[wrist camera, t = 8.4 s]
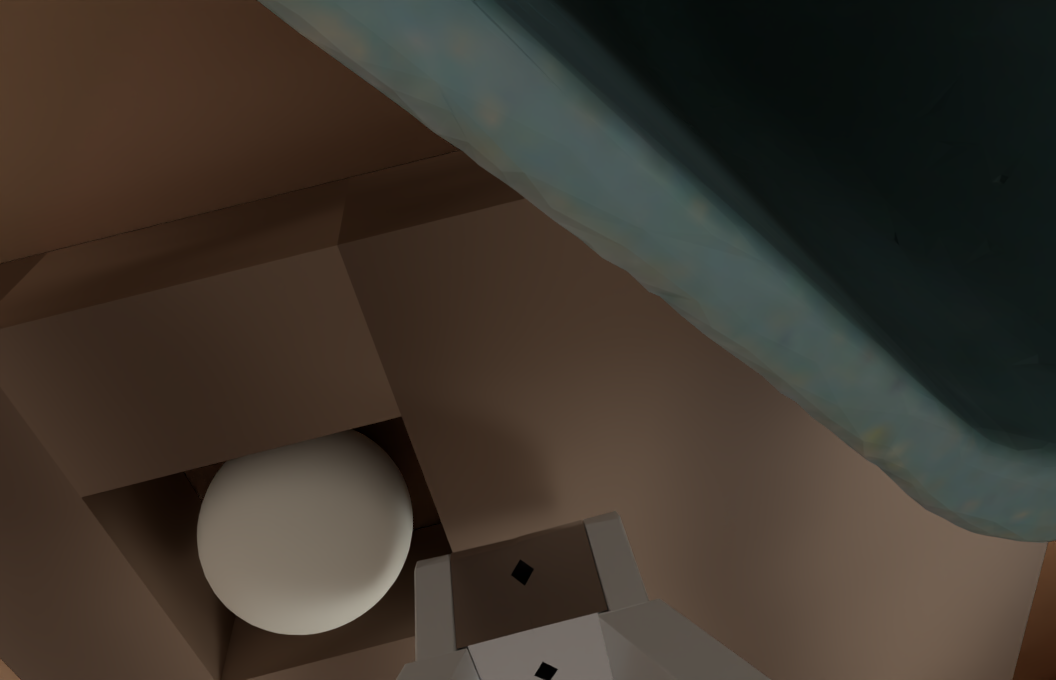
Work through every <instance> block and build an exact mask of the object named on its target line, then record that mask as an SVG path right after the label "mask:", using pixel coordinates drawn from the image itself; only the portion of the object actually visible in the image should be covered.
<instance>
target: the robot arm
mask: <svg viewBox="0 0 1056 680" xmlns="http://www.w3.org/2000/svg"><path fill="white" fill-rule="evenodd" d="M414 589H415V661H414V662H411V663H407V664H405V665H404V667H403V669H402V670H401V672H400V674H399V675H398V677H397V679H396V680H771V679H769V678H768V677H767V676H765V675H764V674H763V673H761V672H760V671H759V670H757V669H756V668H754V667H753V666H752V665H750V664H749V663H748V662H746V661H745V660H743V659H742V658H741V657H739V656H738V655H737V654H735V653H734V652H732V651H731V650H730V649H728V648H727V647H726V646H724V645H723V644H721V643H720V642H719V641H717V640H716V639H715V638H713V637H712V636H710V635H709V634H708V633H706V632H705V631H704V630H702V629H701V628H699V627H698V626H697V625H695V624H694V623H693V622H691V621H690V620H689V619H687V618H686V617H684V616H683V615H682V614H680V613H679V612H678V611H676V610H675V609H673V608H672V607H671V606H669V605H668V604H667V603H665V602H664V601H662V600H661V599H656V600H651V601H649V598H648V595H647V592H646V590H645V587H644V584H643V581H642V578H641V575H640V572H639V569H638V567H637V564H636V561H635V558H634V555H633V552H632V549H631V546H630V544H629V541H628V538H627V535H626V532H625V529H624V526H623V524H622V521H621V518H620V515H619V514H618V513H617V512H616V511H613V512H610V513H606V514H602V515H598V516H595V517H591V518H587V519H583V521H582V520H579V521H575V522H571V523H568V524H564V525H560V526H556V527H553V528H549V529H545V530H541V531H538V532H534V533H530V534H526V535H523V536H519V537H517V538H514V539H510V540H505V541H501V542H497V543H492V544H488V545H484V546H479V547H475V548H470V549H466V550H462V551H457V552H453V553H451V554H447V555H443V556H438V557H434V558H430V559H425V560H421V561H417V563H416V567H415V571H414Z"/></svg>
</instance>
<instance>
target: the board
mask: <svg viewBox="0 0 1056 680" xmlns="http://www.w3.org/2000/svg"><path fill="white" fill-rule="evenodd" d="M401 416H402V419H403V422H404V424H405V427H406V430H407V432H408V435H409V438H410V440H411V443H412V446H413V448H414V451H415V454H416V456H417V459H418V461H419V464H420V467H421V469H422V472H423V475H424V477H425V480H426V483H427V485H428V488H429V491H430V493H431V496H432V499H433V501H434V504H435V507H436V509H437V512H438V515H439V517H440V520H441V524H437V525H433V526H430V527H426V528H422V529H418V530H414V531H413V532H412V537H411V543H410V548H409V552H408V555H407V558H406V560H405V563H404V565H403V567H402V569H401V571H400V574H399V575H398V577H397V579H396V580H395V582H394V583H393V585H392V586H391V587H390V588H389V590H388V591H387V592H386V594H385V595H384V596H383V597H382V598H381V599H380V600H379V601H378V602H377V603H376V604H375V605H374V606H373V607H372V608H371V609H369V610H368V611H367V612H365V613H364V614H363V615H361V616H359V617H358V618H356V619H355V620H353V621H351V622H349V623H347V624H345V625H343V626H340V627H338V628H335V629H332V630H329V631H326V632H321V633H316V634H308V635H287V634H278V633H274V632H270V631H267V630H264V629H261V628H258V627H256V626H253V625H251V624H250V623H248V622H246V621H244V620H243V619H241V618H240V617H238V616H237V615H235V614H234V613H233V612H232V611H230V610H229V609H228V608H227V607H226V606H225V605H224V604H223V603H222V602H221V600H220V599H219V598H218V597H217V595H216V594H215V593H214V591H213V589H212V588H211V586H210V584H209V582H208V581H207V579H206V577H205V574H204V571H203V568H202V565H201V562H200V559H199V553H198V545H197V524H198V518H199V513H200V509H201V504H202V502H201V500H200V499H199V497H198V495H197V494H196V492H195V490H194V489H193V487H192V486H191V484H190V482H189V481H188V479H187V477H186V476H185V474H184V472H183V471H187V470H191V469H195V468H199V467H203V466H207V465H211V464H215V463H219V462H223V461H227V460H231V459H235V458H239V457H243V456H247V455H251V454H255V453H259V452H263V451H267V450H270V449H274V448H278V447H282V446H286V445H290V444H294V443H298V442H302V441H306V440H310V439H314V438H318V437H322V436H326V435H330V434H334V433H338V432H342V431H346V430H350V429H354V428H358V427H361V426H365V425H369V424H373V423H377V422H381V421H385V420H389V419H393V418H397V417H401ZM613 511H616V512H617V513H618V514H619V515H620V518H621V521H622V524H623V526H624V529H625V532H626V535H627V538H628V541H629V544H630V546H631V549H632V552H633V555H634V558H635V561H636V564H637V567H638V569H639V572H640V575H641V578H642V581H643V584H644V587H645V590H646V592H647V595H648V598H649V601H651V600H656V599H661V600H662V601H664V602H665V603H667V604H668V605H669V606H671V607H672V608H673V609H675V610H676V611H678V612H679V613H680V614H682V615H683V616H684V617H686V618H687V619H689V620H690V621H691V622H693V623H694V624H695V625H697V626H698V627H699V628H701V629H702V630H704V631H705V632H706V633H708V634H709V635H710V636H712V637H713V638H715V639H716V640H717V641H719V642H720V643H721V644H723V645H724V646H726V647H727V648H728V649H730V650H731V651H732V652H734V653H735V654H737V655H738V656H739V657H741V658H742V659H743V660H745V661H746V662H748V663H749V664H750V665H752V666H753V667H754V668H756V669H757V670H759V671H760V672H761V673H763V674H764V675H765V676H767V677H768V678H769V679H771V680H1012V679H1013V675H1014V671H1015V667H1016V664H1017V660H1018V656H1019V652H1020V648H1021V644H1022V641H1023V637H1024V633H1025V629H1026V625H1027V621H1028V617H1029V614H1030V610H1031V606H1032V602H1033V598H1034V594H1035V591H1036V587H1037V583H1038V579H1039V575H1040V571H1041V568H1042V564H1043V560H1044V556H1045V552H1046V548H1047V545H1048V542H1045V543H1037V542H1023V541H1014V540H1009V539H1003V538H998V537H992V536H986V535H981V534H976V533H973V532H970V531H968V530H965V529H963V528H961V527H958V526H956V525H954V524H952V523H951V522H949V521H947V520H946V519H944V518H942V517H940V516H937V515H935V514H933V513H931V512H929V511H927V510H926V509H924V508H923V507H922V506H921V505H919V504H918V503H917V502H916V501H915V500H913V499H912V498H911V497H910V496H908V495H907V494H906V493H905V492H904V491H903V490H902V489H901V488H900V487H899V486H898V485H897V484H896V483H895V482H894V481H893V480H892V479H891V478H890V477H888V476H887V475H886V474H885V473H884V472H883V471H882V470H881V469H880V468H879V467H878V466H877V465H875V464H873V463H871V462H869V461H867V460H866V459H865V458H863V457H862V456H861V455H860V454H858V453H857V452H856V451H854V450H853V449H852V448H851V447H849V446H848V445H847V444H846V443H845V442H843V441H842V440H841V439H840V438H838V437H837V436H836V435H835V434H834V433H832V432H831V431H830V430H829V429H827V428H826V427H825V426H823V425H822V424H820V423H819V422H818V421H816V420H815V419H813V418H812V417H811V416H810V415H809V414H808V413H807V412H806V411H805V410H804V409H803V408H802V407H801V406H800V405H799V404H797V403H796V402H795V401H793V400H792V399H790V398H788V397H786V396H785V395H783V394H781V393H780V392H779V391H778V390H777V389H776V388H775V387H774V386H772V385H771V384H770V383H769V382H768V381H767V380H766V379H765V378H764V377H763V376H762V375H760V374H759V373H757V372H756V371H755V370H753V369H752V368H750V367H749V366H748V365H746V364H745V363H743V362H742V361H741V360H739V359H738V358H736V357H735V356H734V355H732V354H731V353H729V352H728V351H727V350H725V349H724V348H722V347H721V346H720V345H718V344H717V343H715V342H714V341H713V340H711V339H710V338H708V337H707V336H706V335H705V334H703V333H702V332H701V331H700V330H698V329H697V328H696V327H695V326H693V325H692V324H691V323H690V322H689V321H687V320H686V319H685V318H684V317H682V316H681V315H680V314H679V313H678V312H677V311H676V310H674V309H673V308H672V307H671V306H670V305H669V304H668V303H667V302H666V301H664V300H663V299H662V298H661V297H660V296H658V295H655V294H653V293H651V292H649V291H647V290H646V289H645V288H644V287H643V286H642V285H641V284H640V283H639V282H638V281H637V280H636V279H635V278H634V277H633V276H632V275H631V274H630V273H629V272H627V271H626V270H624V269H622V268H620V267H618V266H616V265H614V264H612V263H611V262H609V261H607V260H605V259H603V258H602V257H601V256H599V255H598V254H597V253H596V252H595V251H593V250H592V249H591V248H590V247H589V246H588V245H586V244H585V243H584V242H583V241H582V240H580V239H579V238H578V237H576V236H575V235H574V234H572V233H571V232H569V231H568V230H567V229H565V228H564V227H562V226H561V225H559V224H558V223H557V222H555V221H554V220H552V219H551V218H550V217H549V216H547V215H546V214H545V213H543V212H542V211H541V210H540V209H538V208H537V207H536V206H534V205H533V204H532V203H531V202H529V201H528V200H527V199H525V198H524V197H523V196H522V195H520V194H519V193H518V192H517V191H515V190H514V189H513V188H511V187H510V186H509V185H507V184H506V183H504V182H503V181H501V180H500V179H498V178H497V177H495V176H494V175H492V174H491V173H489V172H488V171H487V170H485V169H484V168H482V167H481V166H479V165H478V164H477V163H476V162H475V161H473V160H472V159H471V158H470V157H469V156H468V155H467V154H466V153H464V152H463V151H462V150H460V151H456V152H452V153H448V154H444V155H440V156H436V157H432V158H428V159H424V160H420V161H416V162H412V163H407V164H403V165H399V166H395V167H391V168H387V169H383V170H379V171H375V172H371V173H367V174H363V175H359V176H355V177H351V178H347V179H343V180H339V181H335V182H330V183H326V184H322V185H318V186H314V187H310V188H306V189H302V190H298V191H294V192H290V193H286V194H282V195H278V196H274V197H270V198H266V199H262V200H258V201H253V202H249V203H245V204H241V205H237V206H233V207H229V208H225V209H221V210H217V211H213V212H209V213H205V214H201V215H197V216H193V217H189V218H185V219H181V220H177V221H172V222H168V223H164V224H160V225H156V226H152V227H148V228H144V229H140V230H136V231H132V232H128V233H124V234H120V235H116V236H112V237H108V238H104V239H100V240H95V241H91V242H87V243H83V244H79V245H75V246H71V247H67V248H63V249H59V250H55V251H51V252H47V253H43V254H39V255H35V256H31V257H27V258H23V259H18V260H14V261H10V262H6V263H2V264H0V658H1V660H2V661H3V662H4V663H5V664H6V665H7V666H8V667H9V668H10V669H11V670H12V671H13V672H14V673H15V674H16V675H17V676H18V677H19V678H20V679H21V680H396V679H397V677H398V675H399V674H400V672H401V670H402V669H403V667H404V665H405V664H407V663H411V662H414V661H415V589H414V571H415V567H416V563H417V561H421V560H425V559H430V558H434V557H438V556H443V555H447V554H451V553H453V552H457V551H462V550H466V549H470V548H475V547H479V546H484V545H488V544H492V543H497V542H501V541H505V540H510V539H514V538H517V537H519V536H523V535H526V534H530V533H534V532H538V531H541V530H545V529H549V528H553V527H556V526H560V525H564V524H568V523H571V522H575V521H579V520H582V521H583V519H587V518H591V517H595V516H598V515H602V514H606V513H610V512H613Z"/></svg>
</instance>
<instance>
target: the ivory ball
mask: <svg viewBox="0 0 1056 680" xmlns="http://www.w3.org/2000/svg"><path fill="white" fill-rule="evenodd" d="M412 532H413V510H412V503H411V498H410V494H409V491H408V488H407V485H406V482H405V480H404V478H403V476H402V474H401V472H400V470H399V468H398V467H397V466H396V464H395V463H394V462H393V460H392V459H391V458H390V456H389V455H388V454H387V453H386V452H385V451H384V450H383V449H382V448H381V447H380V446H379V445H378V444H376V443H375V442H374V441H372V440H371V439H370V438H368V437H367V436H365V435H363V434H361V433H359V432H357V431H355V430H353V429H350V430H346V431H342V432H338V433H334V434H330V435H326V436H322V437H318V438H314V439H310V440H306V441H302V442H298V443H294V444H290V445H286V446H282V447H278V448H274V449H270V450H267V451H263V452H259V453H255V454H251V455H247V456H243V457H239V458H235V459H231V460H227V461H226V462H225V463H224V464H223V465H222V467H221V468H220V469H219V471H218V472H217V473H216V475H215V476H214V478H213V480H212V481H211V483H210V485H209V487H208V489H207V492H206V494H205V497H204V499H203V502H202V504H201V509H200V513H199V518H198V524H197V545H198V553H199V559H200V562H201V565H202V568H203V571H204V574H205V577H206V579H207V581H208V582H209V584H210V586H211V588H212V589H213V591H214V593H215V594H216V595H217V597H218V598H219V599H220V600H221V602H222V603H223V604H224V605H225V606H226V607H227V608H228V609H229V610H230V611H232V612H233V613H234V614H235V615H237V616H238V617H240V618H241V619H243V620H244V621H246V622H248V623H250V624H251V625H253V626H256V627H258V628H261V629H264V630H267V631H270V632H274V633H278V634H287V635H308V634H316V633H321V632H326V631H329V630H332V629H335V628H338V627H340V626H343V625H345V624H347V623H349V622H351V621H353V620H355V619H356V618H358V617H359V616H361V615H363V614H364V613H365V612H367V611H368V610H369V609H371V608H372V607H373V606H374V605H375V604H376V603H377V602H378V601H379V600H380V599H381V598H382V597H383V596H384V595H385V594H386V592H387V591H388V590H389V588H390V587H391V586H392V585H393V583H394V582H395V580H396V579H397V577H398V575H399V574H400V571H401V569H402V567H403V565H404V563H405V560H406V558H407V555H408V552H409V548H410V543H411V537H412Z"/></svg>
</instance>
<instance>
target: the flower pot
mask: <svg viewBox="0 0 1056 680" xmlns="http://www.w3.org/2000/svg"><path fill="white" fill-rule="evenodd" d="M257 1H259V2H260V3H261V4H263V5H264V6H265V7H266V8H268V9H269V10H270V11H272V12H273V13H274V14H275V15H277V16H278V17H279V18H281V19H282V20H283V21H284V22H286V23H287V24H288V25H290V26H291V27H292V28H294V29H295V30H296V31H297V32H299V33H300V34H301V35H303V36H304V37H306V38H307V39H308V40H310V41H311V42H313V43H314V44H315V45H317V46H318V47H319V48H321V49H322V50H324V51H325V52H326V53H328V54H329V55H331V56H332V57H333V58H335V59H336V60H338V61H339V62H340V63H342V64H343V65H344V66H346V67H347V68H349V69H350V70H351V71H353V72H354V73H356V74H357V75H358V76H360V77H361V78H363V79H364V80H365V81H367V82H368V83H369V84H371V85H372V86H374V87H375V88H376V89H378V90H379V91H380V92H382V93H383V94H384V95H386V96H387V97H388V98H390V99H391V100H393V101H394V102H395V103H397V104H398V105H399V106H401V107H402V108H403V109H405V110H406V111H407V112H409V113H410V114H411V115H413V116H414V117H415V118H416V119H418V120H419V121H420V122H421V123H423V124H424V125H425V126H426V127H428V128H429V129H430V130H431V131H433V132H434V133H435V134H437V135H439V136H440V137H442V138H443V139H445V140H446V141H448V142H449V143H451V144H452V145H454V146H455V147H457V148H458V149H460V150H462V151H463V152H464V153H466V154H467V155H468V156H469V157H470V158H471V159H472V160H473V161H475V162H476V163H477V164H478V165H479V166H481V167H482V168H484V169H485V170H487V171H488V172H489V173H491V174H492V175H494V176H495V177H497V178H498V179H500V180H501V181H503V182H504V183H506V184H507V185H509V186H510V187H511V188H513V189H514V190H515V191H517V192H518V193H519V194H520V195H522V196H523V197H524V198H525V199H527V200H528V201H529V202H531V203H532V204H533V205H534V206H536V207H537V208H538V209H540V210H541V211H542V212H543V213H545V214H546V215H547V216H549V217H550V218H551V219H552V220H554V221H555V222H557V223H558V224H559V225H561V226H562V227H564V228H565V229H567V230H568V231H569V232H571V233H572V234H574V235H575V236H576V237H578V238H579V239H580V240H582V241H583V242H584V243H585V244H586V245H588V246H589V247H590V248H591V249H592V250H593V251H595V252H596V253H597V254H598V255H599V256H601V257H602V258H603V259H605V260H607V261H609V262H611V263H612V264H614V265H616V266H618V267H620V268H622V269H624V270H626V271H627V272H629V273H630V274H631V275H632V276H633V277H634V278H635V279H636V280H637V281H638V282H639V283H640V284H641V285H642V286H643V287H644V288H645V289H646V290H647V291H649V292H651V293H653V294H655V295H658V296H660V297H661V298H662V299H663V300H664V301H666V302H667V303H668V304H669V305H670V306H671V307H672V308H673V309H674V310H676V311H677V312H678V313H679V314H680V315H681V316H682V317H684V318H685V319H686V320H687V321H689V322H690V323H691V324H692V325H693V326H695V327H696V328H697V329H698V330H700V331H701V332H702V333H703V334H705V335H706V336H707V337H708V338H710V339H711V340H713V341H714V342H715V343H717V344H718V345H720V346H721V347H722V348H724V349H725V350H727V351H728V352H729V353H731V354H732V355H734V356H735V357H736V358H738V359H739V360H741V361H742V362H743V363H745V364H746V365H748V366H749V367H750V368H752V369H753V370H755V371H756V372H757V373H759V374H760V375H762V376H763V377H764V378H765V379H766V380H767V381H768V382H769V383H770V384H771V385H772V386H774V387H775V388H776V389H777V390H778V391H779V392H780V393H781V394H783V395H785V396H786V397H788V398H790V399H792V400H793V401H795V402H796V403H797V404H799V405H800V406H801V407H802V408H803V409H804V410H805V411H806V412H807V413H808V414H809V415H810V416H811V417H812V418H813V419H815V420H816V421H818V422H819V423H820V424H822V425H823V426H825V427H826V428H827V429H829V430H830V431H831V432H832V433H834V434H835V435H836V436H837V437H838V438H840V439H841V440H842V441H843V442H845V443H846V444H847V445H848V446H849V447H851V448H852V449H853V450H854V451H856V452H857V453H858V454H860V455H861V456H862V457H863V458H865V459H866V460H867V461H869V462H871V463H873V464H875V465H877V466H878V467H879V468H880V469H881V470H882V471H883V472H884V473H885V474H886V475H887V476H888V477H890V478H891V479H892V480H893V481H894V482H895V483H896V484H897V485H898V486H899V487H900V488H901V489H902V490H903V491H904V492H905V493H906V494H907V495H908V496H910V497H911V498H912V499H913V500H915V501H916V502H917V503H918V504H919V505H921V506H922V507H923V508H924V509H926V510H927V511H929V512H931V513H933V514H935V515H937V516H940V517H942V518H944V519H946V520H947V521H949V522H951V523H952V524H954V525H956V526H958V527H961V528H963V529H965V530H968V531H970V532H973V533H976V534H981V535H986V536H992V537H998V538H1003V539H1009V540H1014V541H1023V542H1037V543H1045V542H1050V541H1055V540H1056V0H257Z"/></svg>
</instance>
